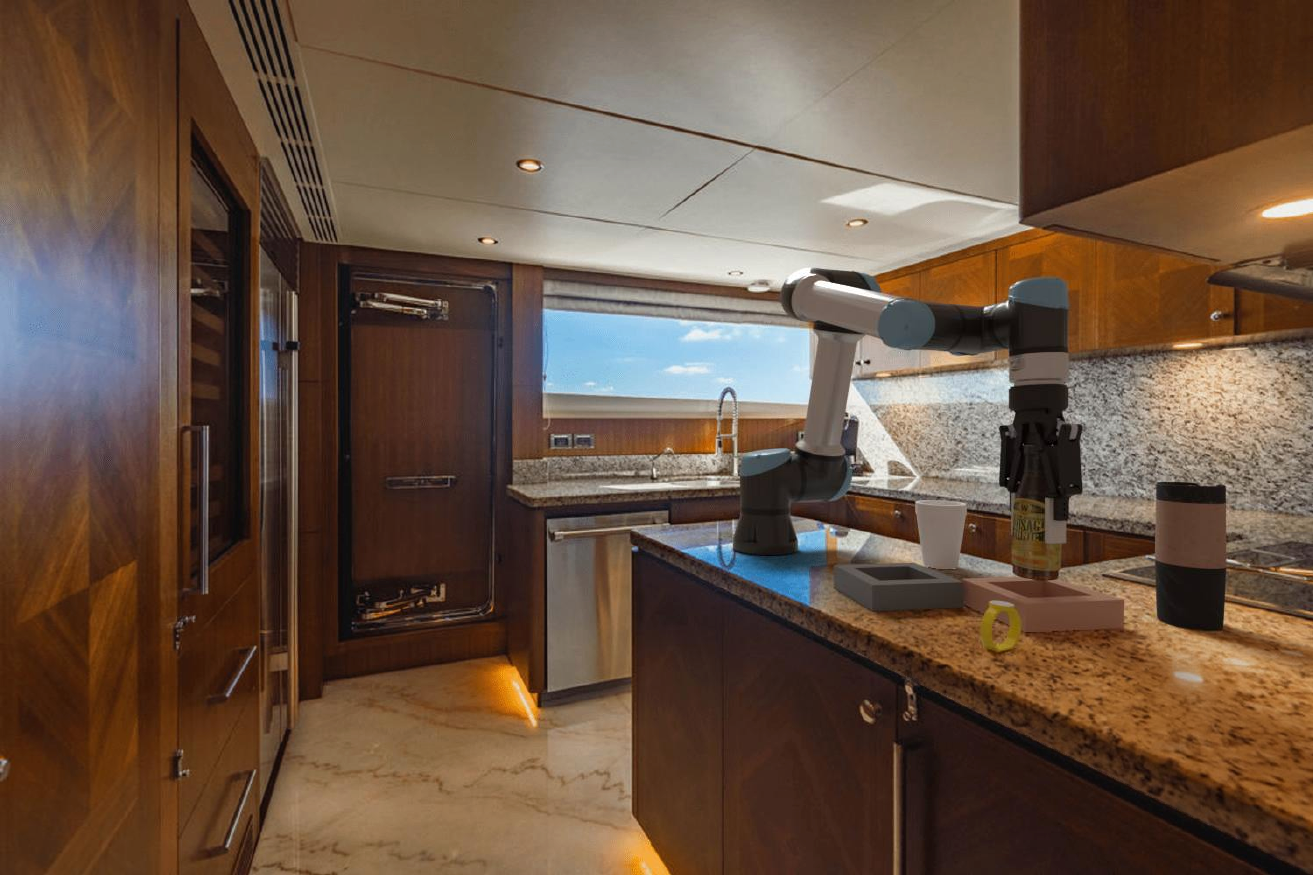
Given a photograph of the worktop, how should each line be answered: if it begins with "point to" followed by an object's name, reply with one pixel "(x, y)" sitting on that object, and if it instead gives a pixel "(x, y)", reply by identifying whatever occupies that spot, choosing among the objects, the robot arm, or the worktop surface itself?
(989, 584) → the holder
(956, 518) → the foam cup
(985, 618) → the watch
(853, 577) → the holder
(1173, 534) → the travel mug
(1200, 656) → the worktop surface
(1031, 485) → the sauce bottle
